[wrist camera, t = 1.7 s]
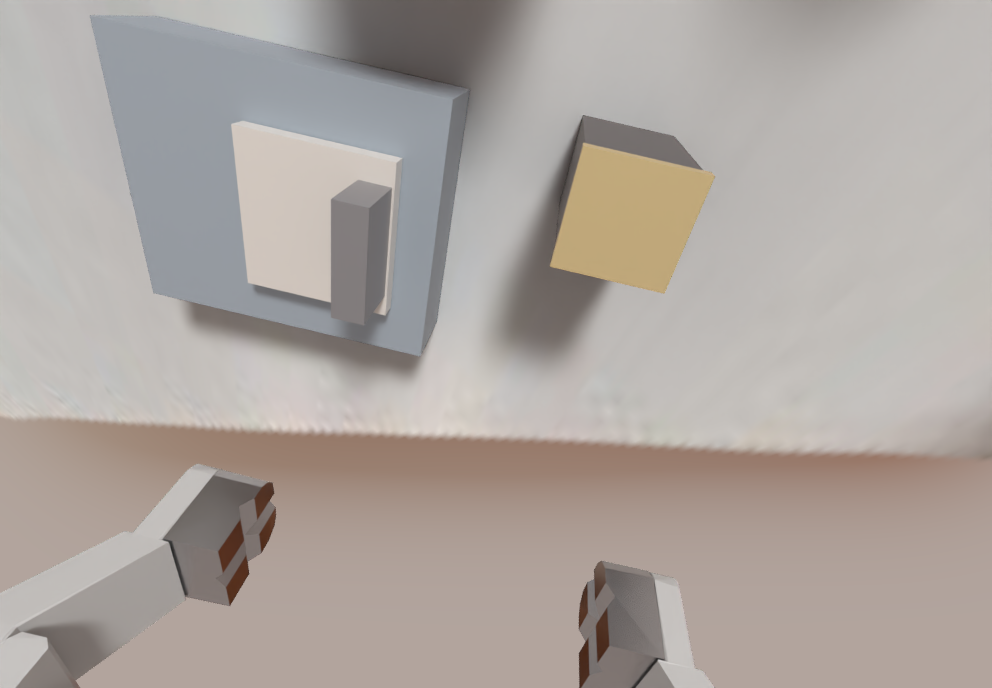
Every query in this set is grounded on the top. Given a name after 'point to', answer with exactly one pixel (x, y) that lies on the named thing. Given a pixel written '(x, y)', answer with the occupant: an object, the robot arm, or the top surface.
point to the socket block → (286, 106)
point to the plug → (627, 205)
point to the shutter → (318, 218)
